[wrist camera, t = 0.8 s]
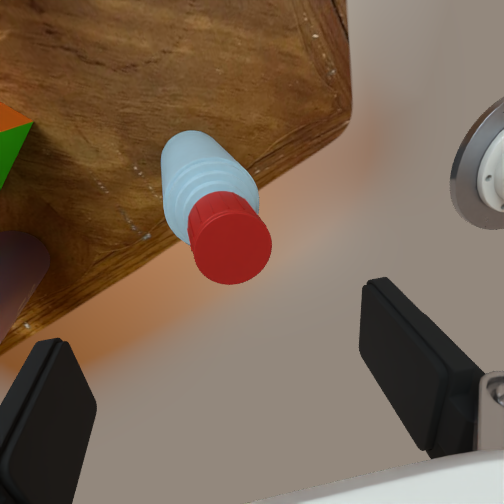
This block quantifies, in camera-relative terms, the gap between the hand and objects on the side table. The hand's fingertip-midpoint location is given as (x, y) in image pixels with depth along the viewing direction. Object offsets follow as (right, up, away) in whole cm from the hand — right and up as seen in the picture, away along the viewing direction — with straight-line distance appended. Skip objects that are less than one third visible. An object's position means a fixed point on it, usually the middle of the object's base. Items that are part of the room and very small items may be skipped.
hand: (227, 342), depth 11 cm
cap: (-1, +5, +9) cm, 10 cm away
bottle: (-5, +12, +24) cm, 27 cm away
